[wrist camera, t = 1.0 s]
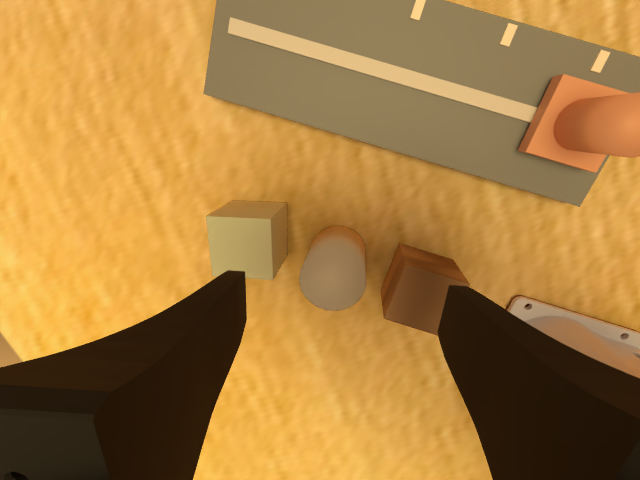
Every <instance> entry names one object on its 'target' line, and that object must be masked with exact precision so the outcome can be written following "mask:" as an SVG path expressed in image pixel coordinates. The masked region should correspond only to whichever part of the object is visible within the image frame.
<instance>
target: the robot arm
mask: <svg viewBox="0 0 640 480" xmlns="http://www.w3.org/2000/svg"><path fill="white" fill-rule="evenodd" d="M528 303H529V304H530V305H529V306H528V307H524V306H525V305H526V304H528ZM246 320H247V317H246V284H245V271H232V270H228V271H226V272H224V273H222V274H221V275H219V276H218V277H217V278H215V279H214V280H212V281H211V282H209V283H208V284H206V285H205V286H203V287H202V288H200V289H199V290H197V291H196V292H194V293H193V294H191V295H190V296H188V297H186V298H185V299H183V300H181V301H180V302H178V303H176V304H175V305H173V306H171V307H170V308H168V309H166V310H164V311H162V312H161V313H159V314H157V315H155V316H153V317H151V318H149V319H147V320H144V321H142V322H140V323H138V324H136V325H134V326H132V327H129V328H127V329H124V330H122V331H119V332H117V333H114V334H112V335H109V336H107V337H104V338H102V339H99V340H96V341H93V342H90V343H87V344H84V345H81V346H78V347H75V348H72V349H69V350H66V351H62V352H59V353H56V354H52V355H49V356H45V357H41V358H37V359H33V360H29V361H25V362H21V363H17V364H13V365H9V366H6V367H1V368H0V480H193V477H194V474H195V470H196V466H197V463H198V459H199V456H200V452H201V449H202V445H203V442H204V439H205V435H206V432H207V429H208V425H209V422H210V419H211V415H212V412H213V410H214V407H215V404H216V402H217V399H218V397H219V394H220V392H221V389H222V387H223V385H224V382H225V380H226V377H227V375H228V373H229V370H230V368H231V365H232V363H233V360H234V358H235V356H236V353H237V351H238V348H239V346H240V343H241V339H242V335H243V332H244V328H245V324H246ZM622 334H624V335H623V336H621V335H622ZM438 336H439V340H440V344H441V347H442V350H443V354H444V357H445V359H446V362H447V364H448V366H449V369H450V371H451V373H452V375H453V378H454V380H455V382H456V384H457V387H458V389H459V391H460V393H461V395H462V397H463V400H464V402H465V404H466V406H467V408H468V411H469V413H470V415H471V417H472V420H473V422H474V425H475V427H476V430H477V432H478V435H479V438H480V441H481V444H482V447H483V450H484V453H485V456H486V459H487V462H488V465H489V468H490V472H491V475H492V478H493V480H640V332H637V331H634V330H631V329H627V328H624V327H621V326H618V325H614V324H611V323H608V322H605V321H601V320H598V319H595V318H592V317H588V316H585V315H582V314H579V313H575V312H572V311H569V310H566V309H562V308H559V307H556V306H553V305H549V304H546V303H543V302H540V301H536V300H533V299H530V298H526V297H523V296H517V297H515V298H514V299H513V300H512V302H511V304H510V306H509V307H508V309H507V310H505V309H504V308H502V307H501V306H499V305H497V304H496V303H494V302H493V301H491V300H490V299H488V298H487V297H485V296H483V295H482V294H480V293H478V292H477V291H475V290H473V289H471V288H469V287H467V286H458V285H449V288H448V292H447V296H446V300H445V304H444V308H443V312H442V316H441V320H440V324H439V328H438Z"/></svg>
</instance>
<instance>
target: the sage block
mask: <svg viewBox="0 0 640 480" xmlns="http://www.w3.org/2000/svg"><path fill="white" fill-rule="evenodd" d="M206 220H207V230H208V239H209V249H210V258H211V268H212V276H219V275H221V274H222V273H224V272H226V271H228V270H232V271H245V278H249V279H264V280H273V279H274V277H275V276H276V274H277V272H278V270H279V269H280V267H281V265H282V263H283V262H284V260H285V258H286V257H287V255H288V242H287V202H261V201H235V200H233V201H231V202H229V203H228V204H226V205H224V206H223V207H221V208H219V209H217V210H216V211H214V212H212V213H211V214H209V215H207V216H206Z"/></svg>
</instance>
